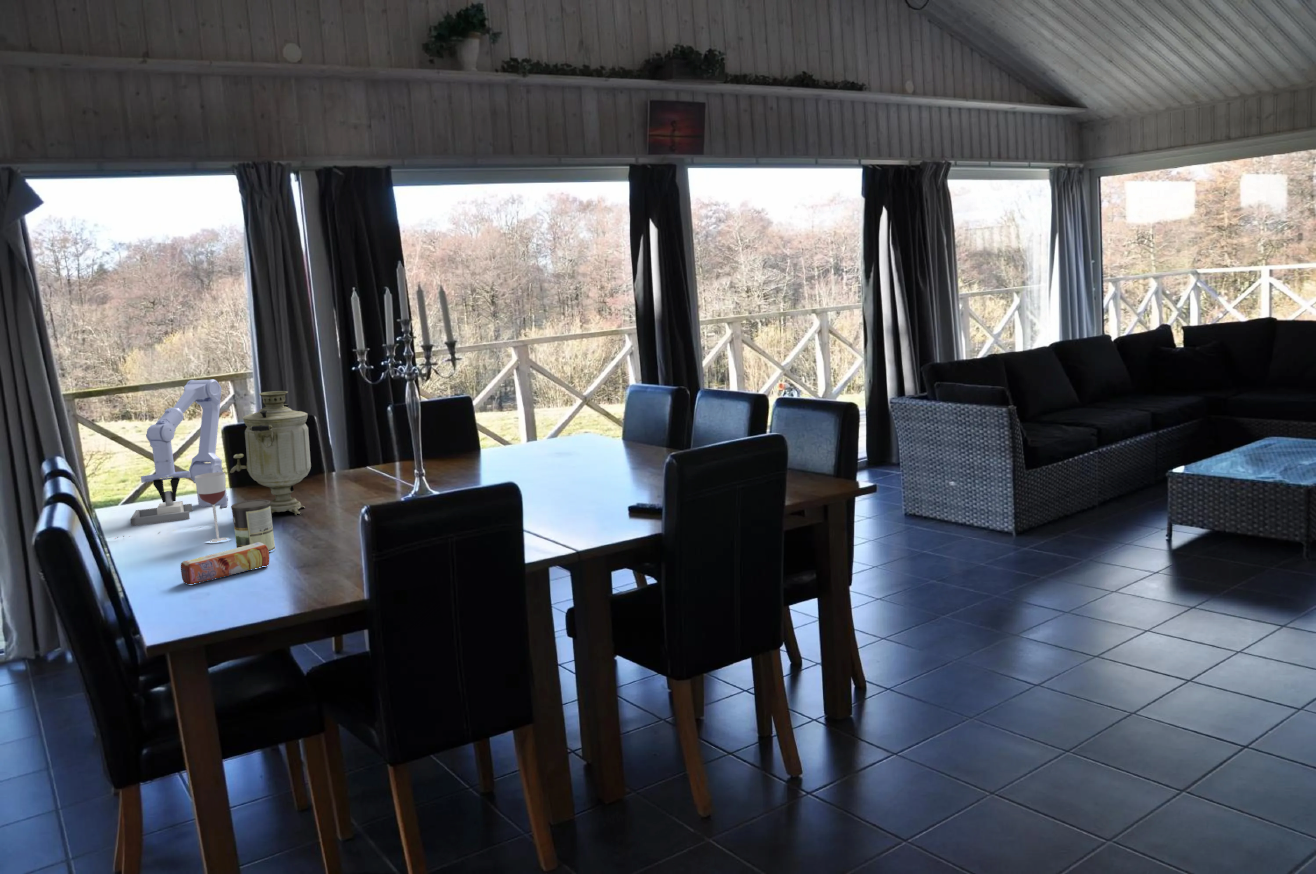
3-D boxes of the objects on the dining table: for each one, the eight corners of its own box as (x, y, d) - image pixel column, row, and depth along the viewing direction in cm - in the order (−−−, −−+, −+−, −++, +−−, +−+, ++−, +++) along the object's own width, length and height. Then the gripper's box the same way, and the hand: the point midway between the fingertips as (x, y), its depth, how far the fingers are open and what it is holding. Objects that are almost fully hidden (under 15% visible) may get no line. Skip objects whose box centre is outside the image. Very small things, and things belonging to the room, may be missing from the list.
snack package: (190, 588, 261) (187, 562, 260) (180, 583, 266) (177, 558, 265) (272, 568, 276) (269, 543, 275) (261, 564, 281) (258, 539, 279)
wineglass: (239, 537, 311) (231, 472, 308) (218, 545, 303) (209, 478, 300) (218, 536, 314) (209, 471, 311) (196, 544, 306) (188, 478, 303)
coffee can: (232, 558, 287) (225, 508, 285) (243, 548, 297) (237, 500, 295) (270, 555, 288) (264, 506, 286) (280, 546, 298) (274, 498, 296)
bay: (193, 513, 349) (191, 503, 348) (189, 522, 336) (188, 511, 335) (137, 520, 343) (135, 510, 343) (132, 529, 330) (130, 518, 330)
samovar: (267, 502, 360) (254, 388, 354) (336, 502, 355) (324, 386, 348) (215, 524, 331) (199, 400, 325) (289, 523, 326) (274, 397, 320)
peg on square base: (184, 512, 346) (180, 487, 344) (181, 518, 337) (178, 492, 336) (161, 515, 343) (157, 490, 342) (158, 521, 335) (154, 495, 334)
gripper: (137, 465, 331) (143, 506, 333) (187, 460, 336) (192, 500, 338) (140, 461, 338) (146, 502, 340) (188, 456, 343) (194, 496, 345)
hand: (169, 501), depth 339 cm, fingers closed on peg on square base, 2 cm apart
